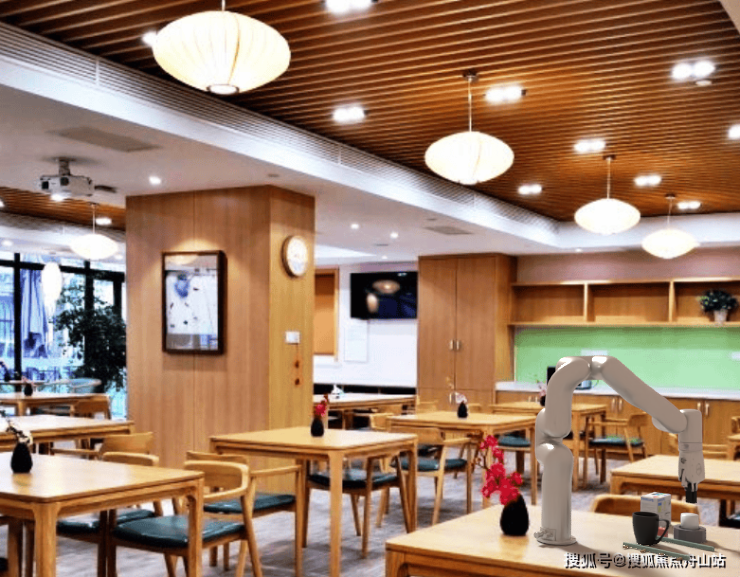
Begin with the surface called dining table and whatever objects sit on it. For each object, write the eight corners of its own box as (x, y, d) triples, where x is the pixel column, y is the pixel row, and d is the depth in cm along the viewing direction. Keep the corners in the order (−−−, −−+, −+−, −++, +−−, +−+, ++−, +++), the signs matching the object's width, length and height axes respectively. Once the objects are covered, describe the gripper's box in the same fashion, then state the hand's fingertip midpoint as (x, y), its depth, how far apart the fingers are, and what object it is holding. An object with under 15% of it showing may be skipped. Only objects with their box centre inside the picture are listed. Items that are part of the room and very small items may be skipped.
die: (666, 539, 295) (666, 528, 295) (656, 537, 296) (656, 527, 297) (668, 537, 297) (668, 527, 298) (659, 536, 299) (659, 525, 299)
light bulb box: (654, 521, 321) (654, 491, 321) (671, 525, 316) (672, 494, 316) (639, 526, 313) (639, 495, 313) (657, 529, 308) (657, 498, 309)
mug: (662, 550, 280) (662, 520, 280) (627, 543, 288) (627, 513, 289) (674, 546, 285) (674, 516, 286) (640, 539, 294) (640, 510, 294)
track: (683, 562, 267) (683, 558, 267) (618, 547, 283) (618, 543, 283) (714, 550, 280) (714, 547, 280) (650, 537, 296) (650, 534, 296)
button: (693, 532, 290) (693, 517, 291) (677, 529, 295) (677, 514, 295) (701, 530, 294) (701, 515, 294) (685, 527, 298) (685, 512, 299)
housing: (696, 545, 287) (697, 532, 287) (668, 539, 294) (668, 527, 295) (711, 540, 294) (711, 528, 294) (682, 534, 301) (682, 522, 302)
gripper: (690, 450, 287) (691, 508, 287) (711, 445, 298) (712, 501, 297) (668, 448, 293) (669, 504, 292) (690, 443, 303) (691, 498, 303)
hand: (691, 502), depth 295 cm, fingers closed
